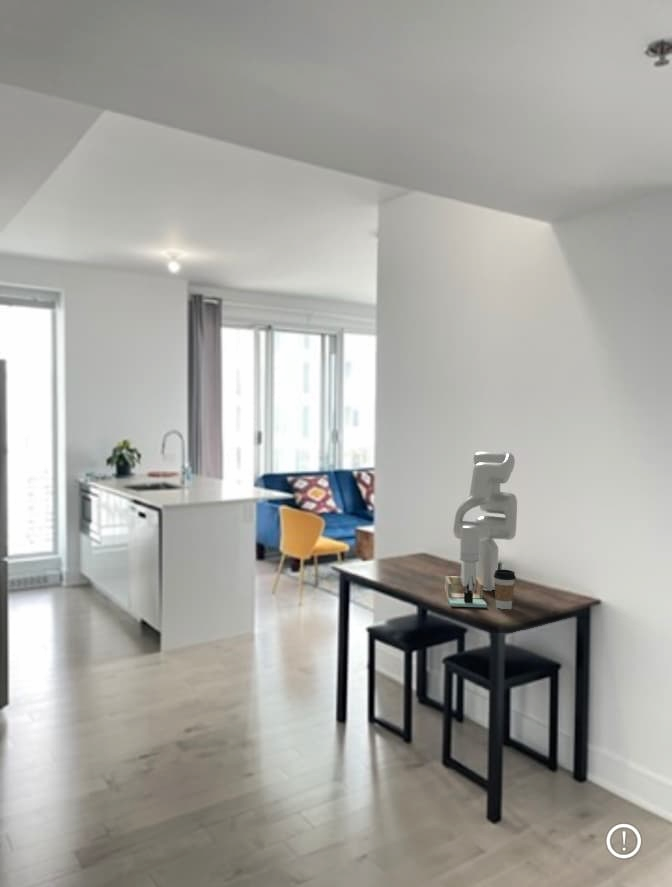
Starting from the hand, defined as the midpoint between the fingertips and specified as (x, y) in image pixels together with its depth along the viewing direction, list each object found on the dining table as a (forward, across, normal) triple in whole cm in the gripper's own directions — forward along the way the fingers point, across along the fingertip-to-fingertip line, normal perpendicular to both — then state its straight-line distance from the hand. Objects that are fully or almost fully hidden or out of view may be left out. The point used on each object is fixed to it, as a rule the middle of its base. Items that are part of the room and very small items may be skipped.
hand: (468, 602), depth 268 cm
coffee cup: (+2, 0, +14) cm, 14 cm away
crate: (+2, -14, 0) cm, 14 cm away
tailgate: (+2, -6, 0) cm, 7 cm away
